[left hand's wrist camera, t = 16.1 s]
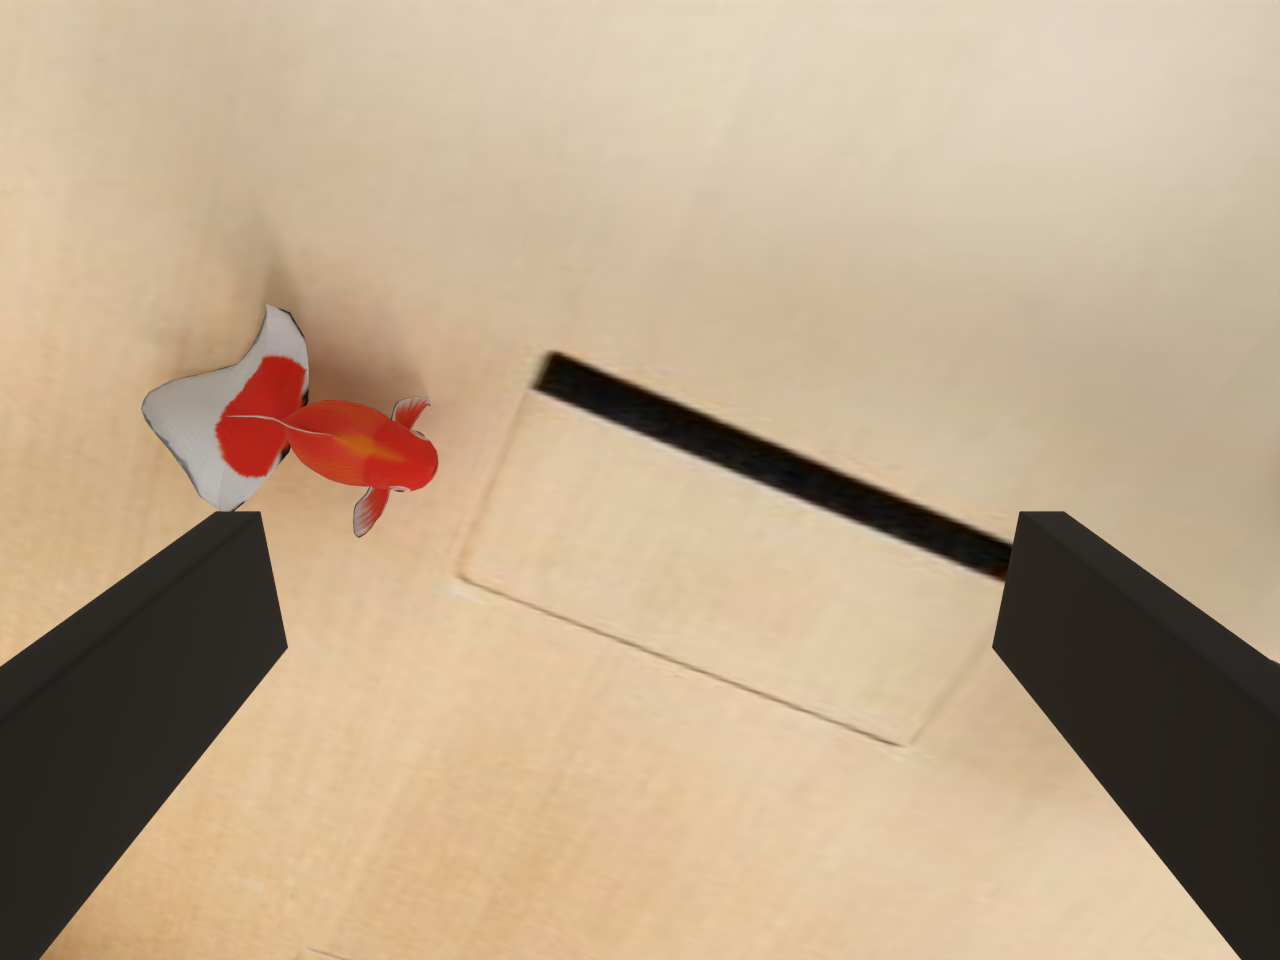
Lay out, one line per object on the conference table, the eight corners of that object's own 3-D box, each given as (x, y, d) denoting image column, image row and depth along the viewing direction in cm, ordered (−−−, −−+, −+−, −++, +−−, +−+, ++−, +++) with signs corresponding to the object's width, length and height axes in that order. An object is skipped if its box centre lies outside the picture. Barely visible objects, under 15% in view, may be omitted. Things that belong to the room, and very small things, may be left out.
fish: (390, 610, 39) (263, 613, 30) (204, 458, 43) (38, 416, 34) (502, 448, 40) (413, 399, 30) (308, 311, 44) (173, 228, 34)
